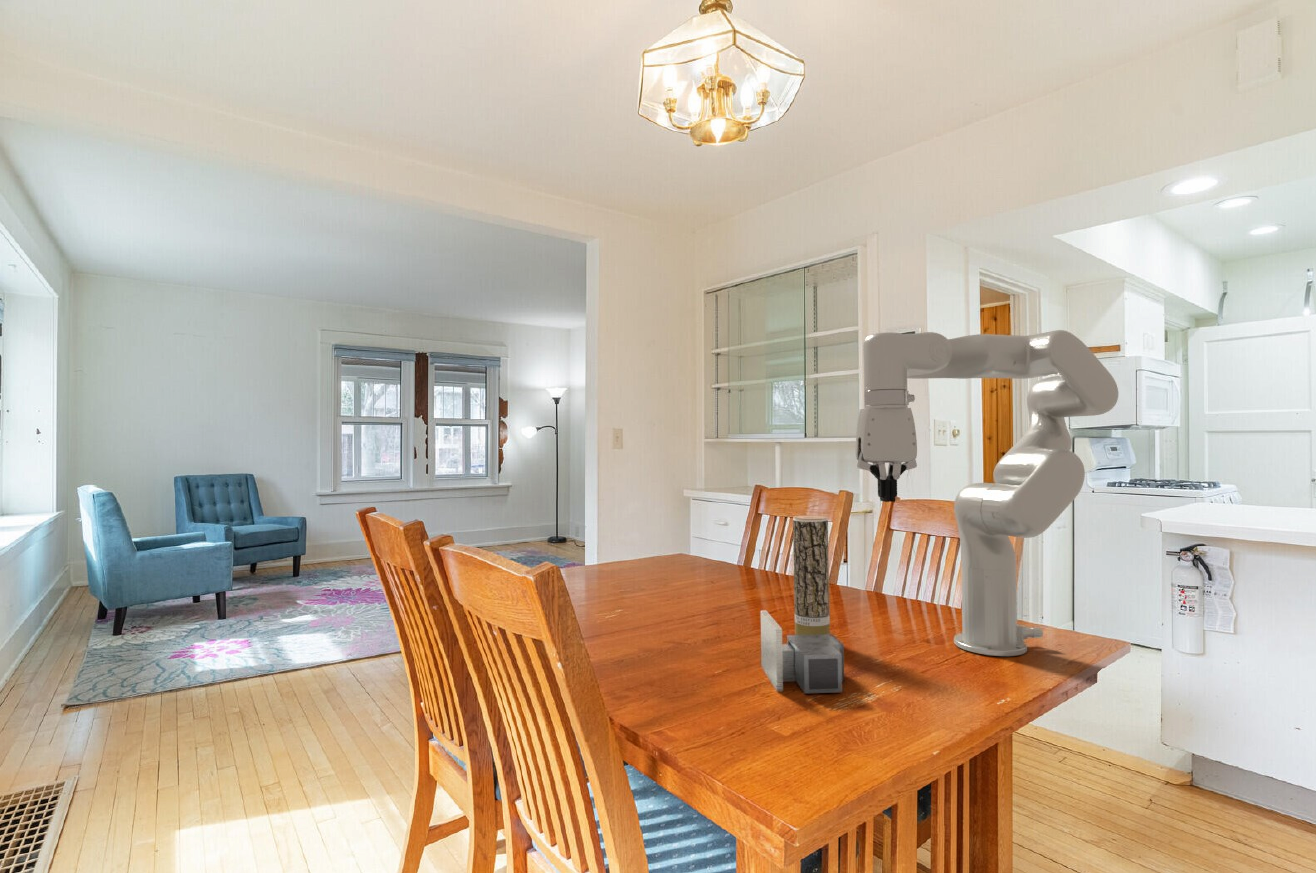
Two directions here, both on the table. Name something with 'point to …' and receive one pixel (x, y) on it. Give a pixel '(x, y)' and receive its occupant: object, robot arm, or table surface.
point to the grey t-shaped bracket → (776, 653)
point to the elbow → (818, 662)
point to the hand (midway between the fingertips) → (887, 501)
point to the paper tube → (811, 575)
